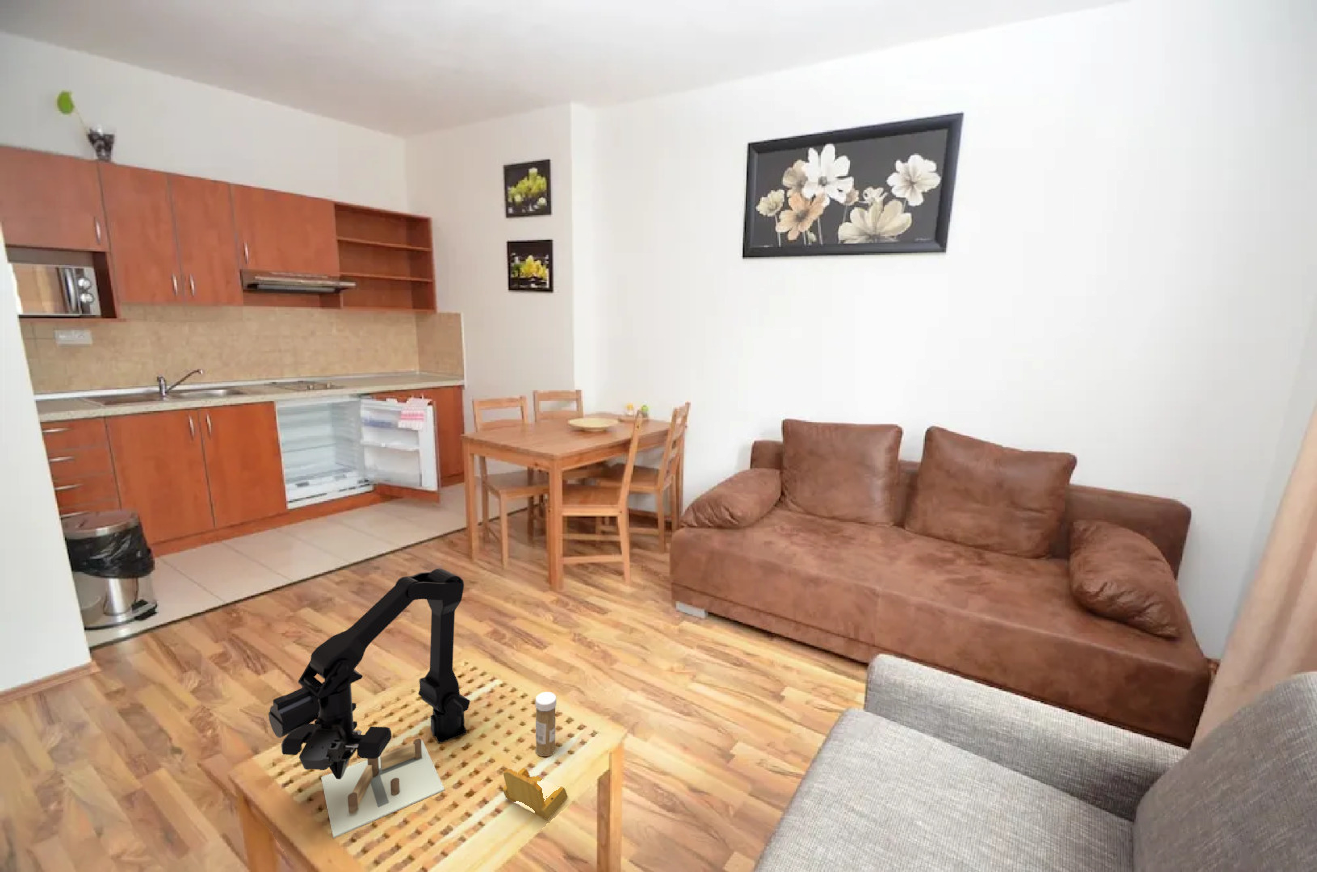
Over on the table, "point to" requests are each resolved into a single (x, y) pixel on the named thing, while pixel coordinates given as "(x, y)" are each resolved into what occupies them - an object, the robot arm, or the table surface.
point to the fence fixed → (396, 761)
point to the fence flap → (359, 789)
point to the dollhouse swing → (531, 793)
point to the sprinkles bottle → (545, 723)
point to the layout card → (379, 791)
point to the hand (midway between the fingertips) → (339, 777)
